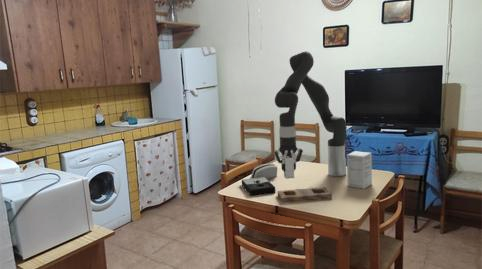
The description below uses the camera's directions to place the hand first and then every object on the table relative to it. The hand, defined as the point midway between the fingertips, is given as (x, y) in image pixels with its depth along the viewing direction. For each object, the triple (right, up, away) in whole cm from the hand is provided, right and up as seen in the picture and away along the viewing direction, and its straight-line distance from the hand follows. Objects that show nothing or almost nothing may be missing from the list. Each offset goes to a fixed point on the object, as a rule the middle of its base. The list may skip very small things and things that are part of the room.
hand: (288, 170), depth 173 cm
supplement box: (+39, -9, +16) cm, 43 cm away
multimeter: (-14, -12, +19) cm, 27 cm away
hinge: (-9, -9, +36) cm, 38 cm away
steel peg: (0, -3, +1) cm, 3 cm away
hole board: (+8, -13, +3) cm, 16 cm away
